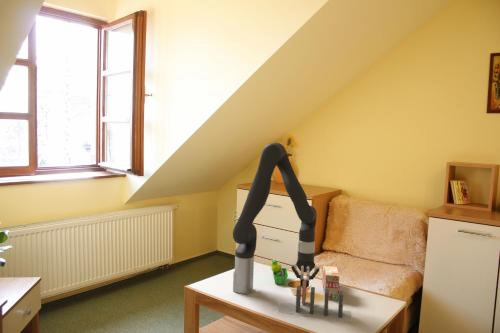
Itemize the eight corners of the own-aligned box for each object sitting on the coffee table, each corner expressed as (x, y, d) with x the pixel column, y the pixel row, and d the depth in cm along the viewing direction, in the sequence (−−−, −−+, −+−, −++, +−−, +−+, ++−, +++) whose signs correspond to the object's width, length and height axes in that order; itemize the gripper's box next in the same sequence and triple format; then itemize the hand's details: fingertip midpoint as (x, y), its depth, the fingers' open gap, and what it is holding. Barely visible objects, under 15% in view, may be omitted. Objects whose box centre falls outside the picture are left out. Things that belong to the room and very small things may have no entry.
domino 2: (301, 303, 176) (302, 281, 176) (302, 299, 181) (303, 278, 181) (305, 303, 176) (306, 281, 175) (305, 300, 180) (306, 278, 180)
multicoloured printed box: (321, 283, 205) (322, 260, 204) (333, 283, 204) (335, 260, 203) (324, 300, 183) (325, 274, 182) (338, 301, 183) (339, 275, 182)
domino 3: (309, 313, 168) (310, 291, 167) (310, 308, 173) (311, 286, 172) (313, 314, 167) (314, 291, 167) (313, 309, 172) (314, 287, 171)
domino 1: (295, 312, 169) (296, 289, 168) (296, 307, 174) (297, 285, 173) (299, 312, 169) (300, 290, 168) (300, 307, 173) (301, 285, 173)
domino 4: (323, 315, 166) (324, 292, 166) (324, 310, 171) (325, 288, 171) (327, 316, 166) (328, 293, 165) (327, 311, 171) (328, 288, 170)
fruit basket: (287, 285, 199) (288, 264, 198) (270, 285, 200) (271, 263, 199) (286, 277, 211) (287, 257, 210) (269, 276, 211) (270, 256, 210)
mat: (277, 313, 168) (277, 312, 168) (280, 303, 178) (280, 302, 178) (351, 322, 162) (351, 321, 162) (350, 311, 171) (350, 311, 171)
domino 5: (338, 317, 165) (339, 294, 164) (338, 312, 170) (339, 290, 169) (342, 317, 165) (343, 295, 164) (341, 312, 170) (343, 290, 169)
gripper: (290, 251, 174) (288, 288, 176) (321, 254, 172) (319, 292, 173) (292, 246, 182) (290, 282, 183) (321, 249, 179) (319, 286, 180)
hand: (304, 287), depth 178 cm, fingers closed on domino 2, 1 cm apart
